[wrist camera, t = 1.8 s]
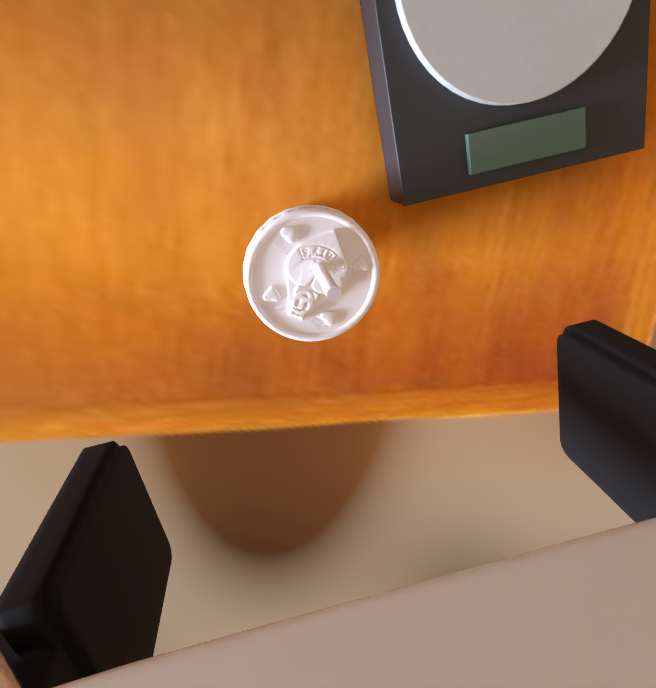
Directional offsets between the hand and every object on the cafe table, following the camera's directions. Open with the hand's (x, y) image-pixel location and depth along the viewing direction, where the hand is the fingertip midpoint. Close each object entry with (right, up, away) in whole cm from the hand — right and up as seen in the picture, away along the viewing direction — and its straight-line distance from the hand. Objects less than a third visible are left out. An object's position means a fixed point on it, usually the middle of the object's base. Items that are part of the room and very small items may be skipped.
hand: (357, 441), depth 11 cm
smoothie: (-3, +9, +21) cm, 23 cm away
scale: (+9, +21, +18) cm, 29 cm away
